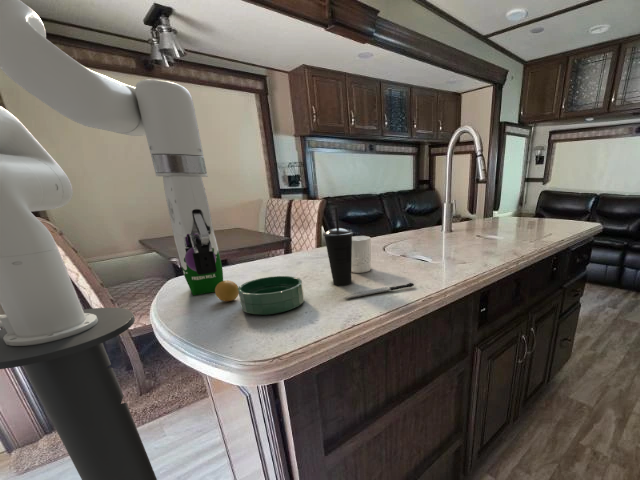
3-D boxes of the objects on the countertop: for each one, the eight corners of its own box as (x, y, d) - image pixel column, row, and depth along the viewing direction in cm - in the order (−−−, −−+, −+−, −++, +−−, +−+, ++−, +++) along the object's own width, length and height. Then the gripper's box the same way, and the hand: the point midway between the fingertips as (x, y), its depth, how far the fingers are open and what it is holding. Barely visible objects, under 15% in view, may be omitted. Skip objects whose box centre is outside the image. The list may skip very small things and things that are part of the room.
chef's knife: (339, 296, 77) (343, 299, 74) (339, 292, 76) (342, 295, 74) (409, 284, 84) (414, 287, 82) (409, 280, 84) (414, 282, 81)
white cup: (361, 274, 94) (359, 241, 90) (341, 271, 98) (339, 239, 94) (377, 268, 100) (375, 237, 97) (357, 265, 104) (355, 235, 101)
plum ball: (183, 275, 58) (177, 248, 56) (194, 269, 63) (188, 243, 61) (213, 274, 59) (208, 247, 57) (221, 267, 64) (216, 243, 62)
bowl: (235, 320, 65) (230, 297, 63) (249, 298, 77) (245, 278, 75) (302, 313, 67) (299, 291, 65) (305, 293, 79) (303, 274, 77)
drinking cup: (355, 277, 91) (350, 205, 84) (357, 285, 84) (352, 208, 77) (328, 280, 90) (320, 206, 83) (328, 288, 83) (320, 209, 76)
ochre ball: (214, 305, 72) (209, 285, 71) (221, 298, 77) (216, 278, 75) (238, 303, 73) (233, 283, 72) (243, 296, 78) (239, 277, 76)
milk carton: (188, 297, 78) (165, 214, 71) (189, 288, 85) (168, 211, 78) (228, 290, 82) (210, 211, 75) (225, 282, 89) (208, 209, 82)
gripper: (146, 168, 58) (171, 265, 64) (163, 165, 46) (191, 284, 52) (193, 169, 62) (212, 259, 69) (219, 167, 51) (238, 275, 57)
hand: (203, 269), depth 61 cm, fingers closed on plum ball, 4 cm apart
